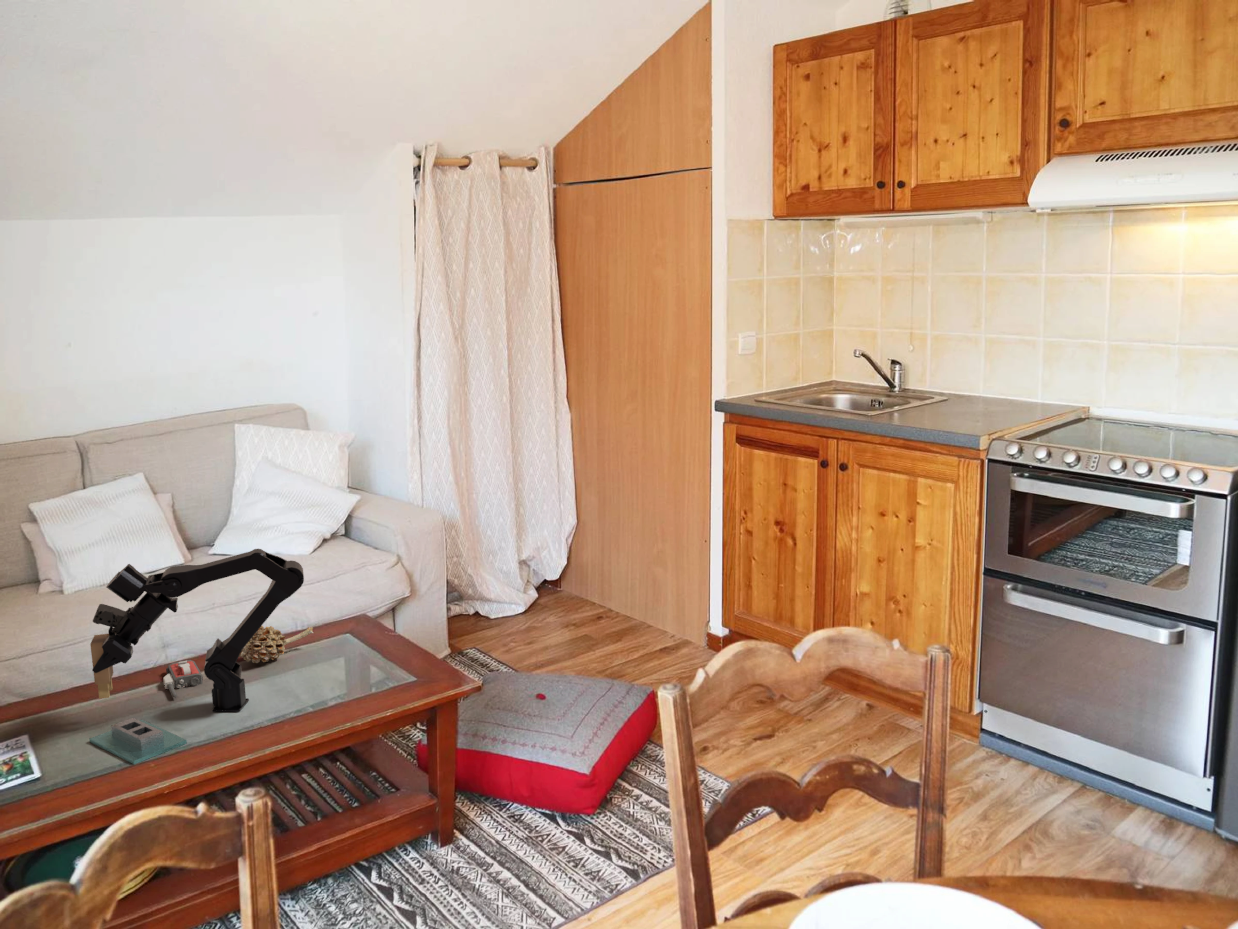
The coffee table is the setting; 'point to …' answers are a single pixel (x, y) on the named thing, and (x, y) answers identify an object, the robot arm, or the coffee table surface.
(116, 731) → the teal holder base
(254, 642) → the dried banksia seed pod
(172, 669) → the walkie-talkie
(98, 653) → the tan cardboard brick
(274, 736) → the coffee table surface
